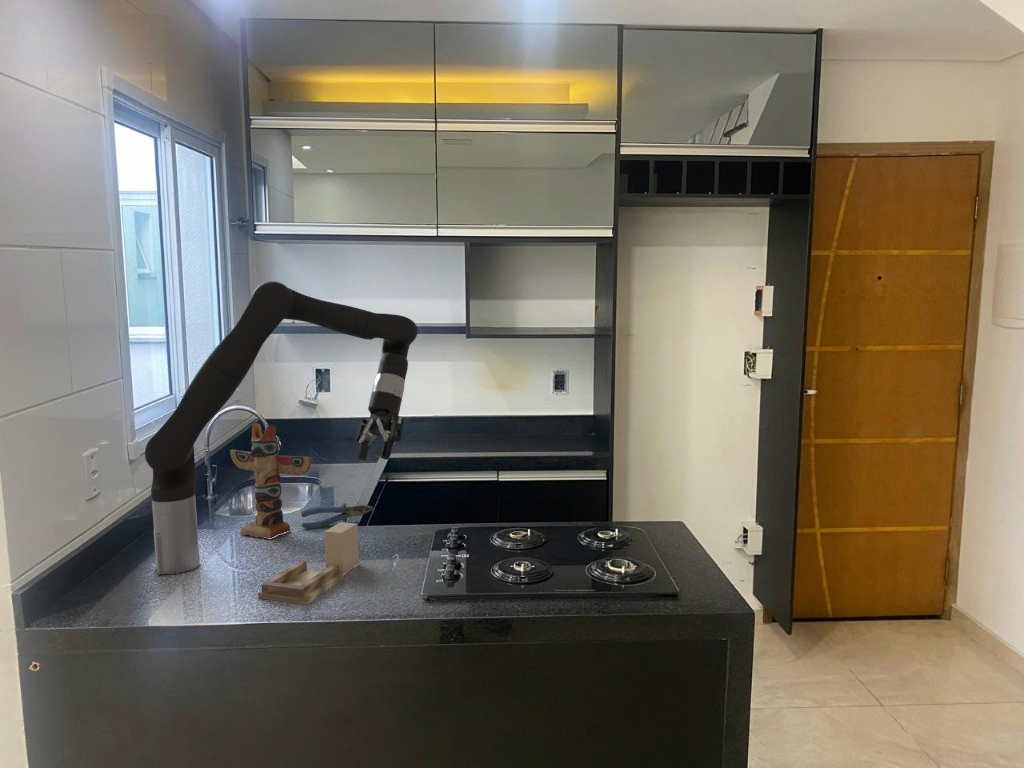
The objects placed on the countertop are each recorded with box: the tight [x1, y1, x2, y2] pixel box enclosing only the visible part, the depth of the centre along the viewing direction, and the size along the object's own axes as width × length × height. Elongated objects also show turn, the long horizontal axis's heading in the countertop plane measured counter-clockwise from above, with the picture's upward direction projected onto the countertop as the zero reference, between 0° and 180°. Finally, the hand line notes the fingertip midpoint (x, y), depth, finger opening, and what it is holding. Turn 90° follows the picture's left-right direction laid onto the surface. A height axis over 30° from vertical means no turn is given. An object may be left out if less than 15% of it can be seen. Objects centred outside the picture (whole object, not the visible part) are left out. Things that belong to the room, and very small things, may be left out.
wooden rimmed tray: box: [257, 560, 344, 605], centre depth 153 cm, size 14×12×3 cm
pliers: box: [300, 502, 374, 530], centre depth 198 cm, size 20×2×6 cm, turn 115°
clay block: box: [323, 521, 360, 574], centre depth 164 cm, size 7×4×10 cm, turn 162°
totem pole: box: [229, 422, 312, 538], centre depth 190 cm, size 29×7×30 cm, turn 65°
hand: (372, 459), depth 167 cm, fingers open, 8 cm apart
